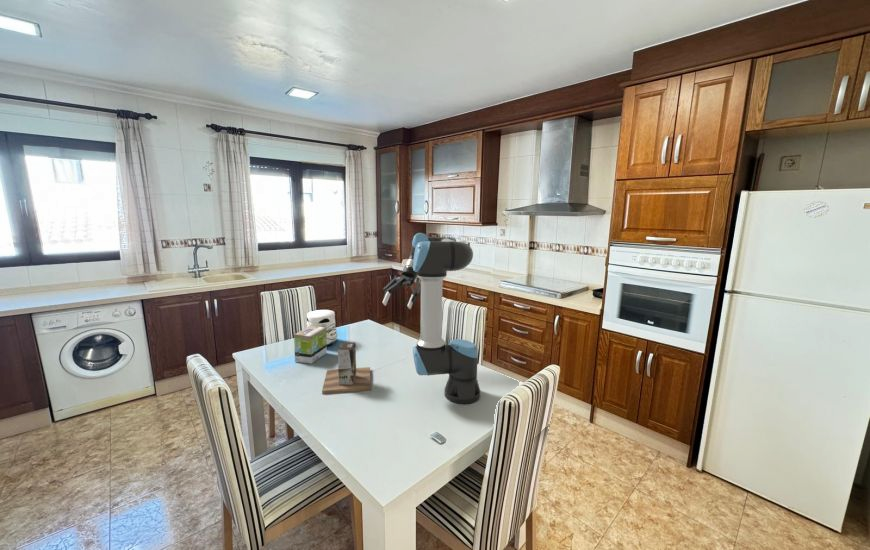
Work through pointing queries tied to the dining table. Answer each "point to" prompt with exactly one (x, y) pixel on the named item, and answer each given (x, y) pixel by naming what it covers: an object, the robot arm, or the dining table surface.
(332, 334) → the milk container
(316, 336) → the tea box
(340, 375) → the coffee box
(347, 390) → the tan board
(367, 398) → the dining table surface
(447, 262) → the robot arm
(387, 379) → the dining table surface
